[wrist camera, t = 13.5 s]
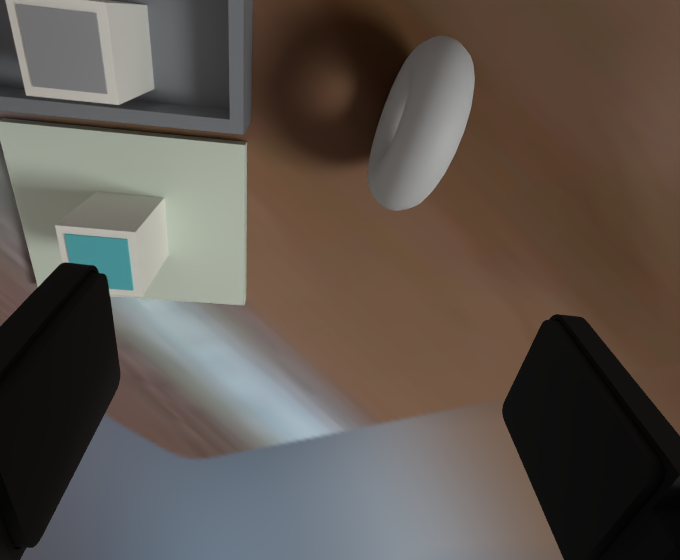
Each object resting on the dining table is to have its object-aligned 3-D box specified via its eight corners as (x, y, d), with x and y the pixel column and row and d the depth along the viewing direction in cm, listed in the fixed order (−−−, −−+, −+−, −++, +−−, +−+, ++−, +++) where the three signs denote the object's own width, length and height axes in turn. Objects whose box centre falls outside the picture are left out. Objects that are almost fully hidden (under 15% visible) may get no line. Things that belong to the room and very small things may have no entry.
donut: (407, 24, 29) (445, 28, 20) (456, 43, 29) (513, 55, 21) (354, 172, 33) (366, 228, 25) (397, 187, 34) (424, 245, 25)
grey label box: (64, -5, 26) (1, -10, 21) (147, 5, 27) (105, 2, 22) (79, 80, 29) (24, 95, 23) (154, 89, 29) (117, 105, 24)
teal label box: (97, 191, 32) (53, 225, 27) (164, 197, 33) (134, 233, 27) (106, 249, 35) (67, 292, 29) (168, 255, 35) (141, 297, 30)
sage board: (4, 118, 31) (-5, 121, 30) (247, 141, 32) (245, 145, 31) (45, 285, 37) (39, 291, 36) (246, 298, 38) (244, 305, 38)
